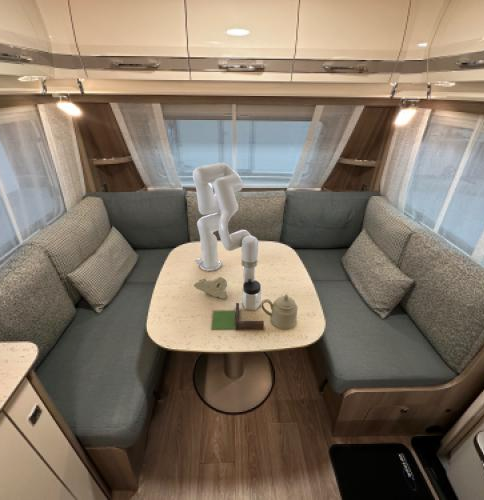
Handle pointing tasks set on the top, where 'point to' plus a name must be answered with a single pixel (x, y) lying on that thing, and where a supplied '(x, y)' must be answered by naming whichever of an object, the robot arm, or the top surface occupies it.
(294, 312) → the sugar bowl
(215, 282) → the khaki irregular lump
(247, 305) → the jar
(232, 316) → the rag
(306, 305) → the top surface
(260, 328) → the corner rail
